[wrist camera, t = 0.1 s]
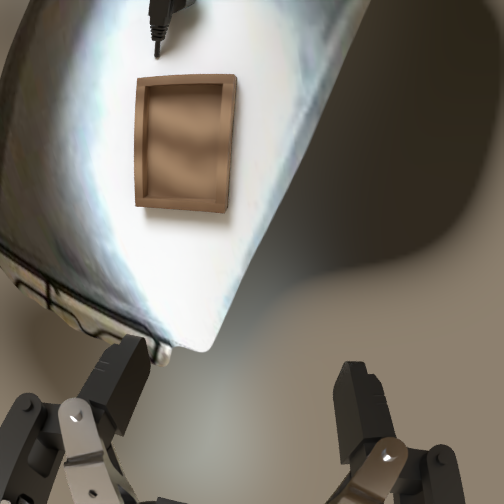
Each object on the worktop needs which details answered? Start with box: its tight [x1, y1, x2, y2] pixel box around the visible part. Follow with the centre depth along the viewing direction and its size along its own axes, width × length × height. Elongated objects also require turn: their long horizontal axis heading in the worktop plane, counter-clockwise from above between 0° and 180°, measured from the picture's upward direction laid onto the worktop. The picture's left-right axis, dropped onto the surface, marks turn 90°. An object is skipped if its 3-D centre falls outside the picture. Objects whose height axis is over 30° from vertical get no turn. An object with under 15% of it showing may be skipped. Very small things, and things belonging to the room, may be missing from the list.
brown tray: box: [134, 74, 237, 213], centre depth 34 cm, size 17×12×2 cm
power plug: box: [148, 0, 195, 57], centre depth 26 cm, size 6×8×12 cm
